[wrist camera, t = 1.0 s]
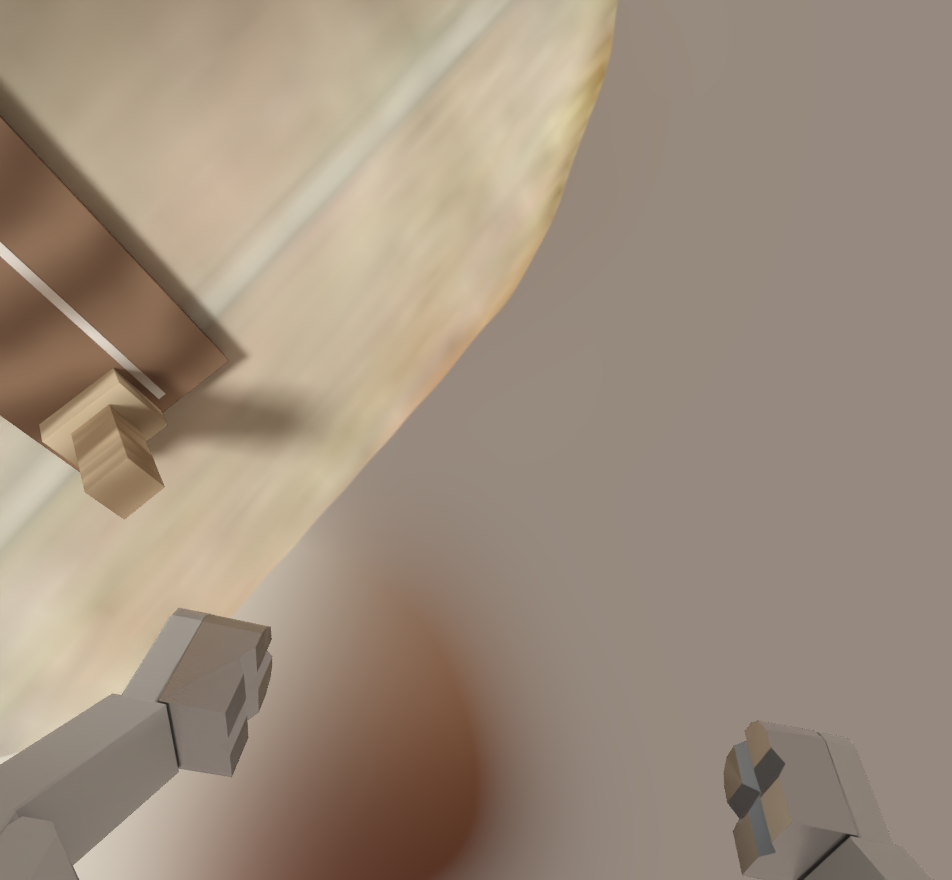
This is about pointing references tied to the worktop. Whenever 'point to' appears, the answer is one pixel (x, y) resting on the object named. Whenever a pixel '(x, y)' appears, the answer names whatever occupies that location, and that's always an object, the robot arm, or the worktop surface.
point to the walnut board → (79, 303)
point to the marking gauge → (109, 442)
